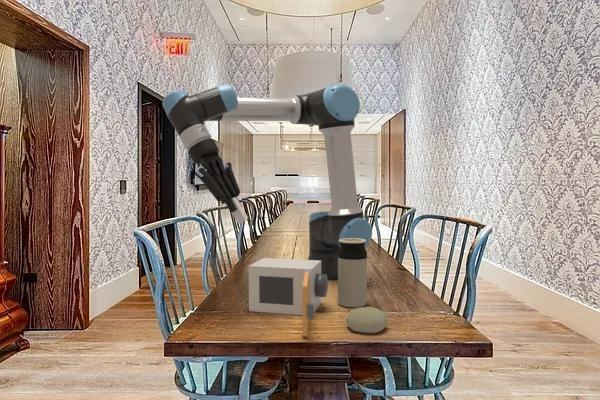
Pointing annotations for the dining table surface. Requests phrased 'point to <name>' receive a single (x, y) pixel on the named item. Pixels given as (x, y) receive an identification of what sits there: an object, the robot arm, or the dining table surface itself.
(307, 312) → the hatch
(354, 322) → the sea urchin shell
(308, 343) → the dining table surface
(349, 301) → the travel mug
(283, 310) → the case
